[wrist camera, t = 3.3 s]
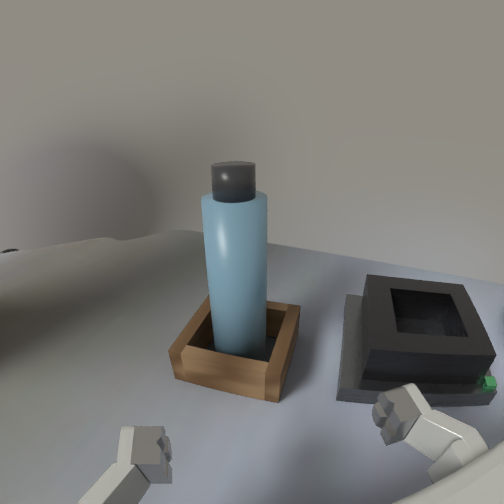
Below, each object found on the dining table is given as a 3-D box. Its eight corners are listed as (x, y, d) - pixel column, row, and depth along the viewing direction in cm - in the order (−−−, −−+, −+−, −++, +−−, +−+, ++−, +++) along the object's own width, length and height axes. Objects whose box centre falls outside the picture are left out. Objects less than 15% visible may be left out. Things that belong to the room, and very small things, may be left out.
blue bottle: (208, 367, 23) (187, 170, 17) (226, 336, 27) (214, 159, 20) (258, 378, 22) (257, 172, 16) (270, 344, 25) (273, 160, 19)
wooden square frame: (175, 378, 22) (168, 350, 21) (213, 318, 29) (210, 292, 27) (278, 402, 20) (280, 375, 18) (297, 333, 27) (300, 305, 25)
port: (336, 400, 20) (347, 357, 18) (344, 306, 30) (350, 267, 28) (488, 404, 16) (514, 364, 14) (458, 317, 27) (472, 280, 25)
